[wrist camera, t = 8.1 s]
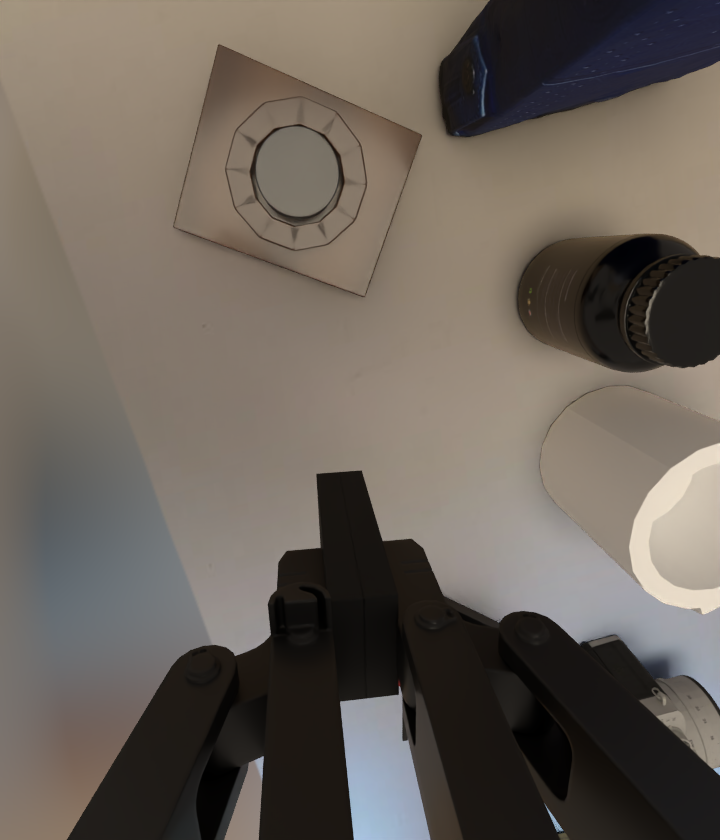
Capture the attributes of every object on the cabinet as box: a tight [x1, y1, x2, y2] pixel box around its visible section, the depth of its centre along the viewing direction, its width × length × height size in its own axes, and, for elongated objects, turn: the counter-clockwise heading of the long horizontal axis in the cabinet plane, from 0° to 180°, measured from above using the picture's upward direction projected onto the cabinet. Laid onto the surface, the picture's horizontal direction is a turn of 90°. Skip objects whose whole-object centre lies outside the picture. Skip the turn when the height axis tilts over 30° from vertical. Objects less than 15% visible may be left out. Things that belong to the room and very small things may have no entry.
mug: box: [540, 386, 720, 615], centre depth 33 cm, size 14×10×11 cm
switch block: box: [173, 44, 422, 297], centre depth 28 cm, size 11×9×4 cm
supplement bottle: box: [518, 234, 720, 373], centre depth 28 cm, size 7×7×12 cm
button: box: [255, 126, 339, 220], centre depth 26 cm, size 4×4×2 cm
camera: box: [582, 635, 720, 769], centre depth 41 cm, size 16×9×10 cm, turn 12°
